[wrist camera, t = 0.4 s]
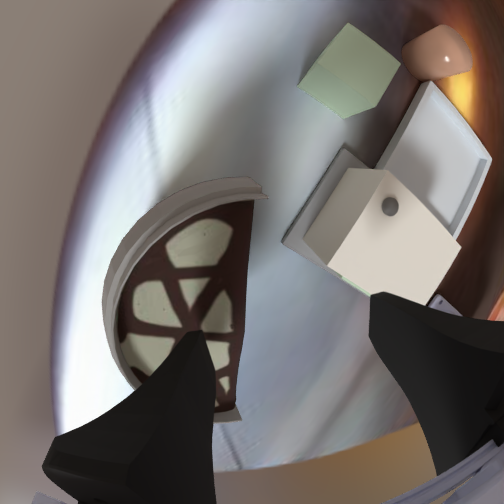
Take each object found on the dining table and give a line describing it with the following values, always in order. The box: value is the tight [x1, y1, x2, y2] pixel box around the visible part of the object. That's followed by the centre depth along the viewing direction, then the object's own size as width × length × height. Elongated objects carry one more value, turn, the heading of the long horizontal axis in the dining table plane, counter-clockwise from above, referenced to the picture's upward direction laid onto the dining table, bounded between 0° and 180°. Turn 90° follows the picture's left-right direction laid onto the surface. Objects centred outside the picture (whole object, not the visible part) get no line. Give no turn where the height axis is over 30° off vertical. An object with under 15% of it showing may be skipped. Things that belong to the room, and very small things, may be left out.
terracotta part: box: [401, 25, 473, 82], centre depth 13 cm, size 4×4×5 cm
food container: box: [102, 177, 268, 424], centre depth 14 cm, size 12×6×10 cm, turn 175°
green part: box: [297, 23, 401, 119], centre depth 14 cm, size 4×4×5 cm
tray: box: [374, 80, 492, 240], centre depth 18 cm, size 10×10×1 cm
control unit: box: [281, 148, 461, 305], centre depth 17 cm, size 10×8×6 cm
